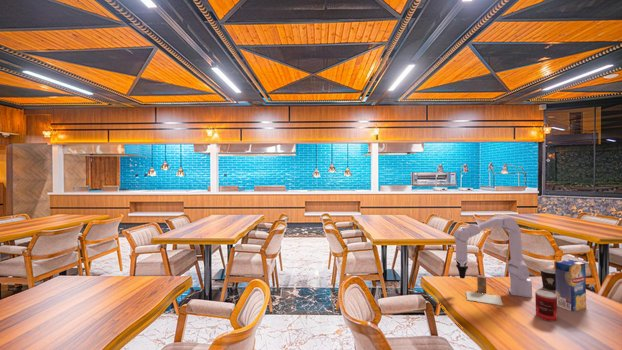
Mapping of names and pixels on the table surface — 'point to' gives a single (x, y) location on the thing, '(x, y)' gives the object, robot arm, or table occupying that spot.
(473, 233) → the robot arm
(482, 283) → the walnut block
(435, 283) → the table surface
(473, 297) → the mat
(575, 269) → the blue cardboard box
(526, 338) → the table surface
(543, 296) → the canned food
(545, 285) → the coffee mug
